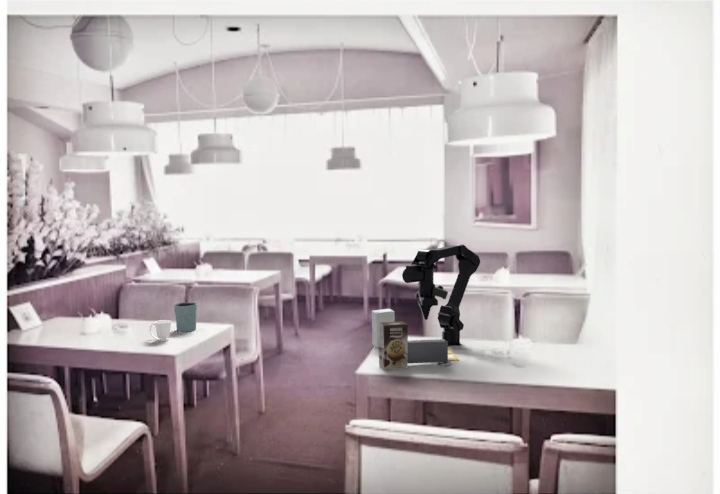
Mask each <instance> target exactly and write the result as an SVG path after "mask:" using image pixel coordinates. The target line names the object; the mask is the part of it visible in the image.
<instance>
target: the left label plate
mask: <svg viewBox="0 0 720 494" xmlns="http://www.w3.org/2000/svg"><path fill="white" fill-rule="evenodd" d="M448 361H450V362H452V361H455V362H457V361H460V359H459V357H458V356H457V354H456V353H453V354H448Z"/></svg>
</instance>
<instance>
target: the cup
mask: <svg viewBox="0 0 720 494" xmlns="http://www.w3.org/2000/svg"><path fill="white" fill-rule="evenodd" d="M153 325H154V326H155V332H156V335H157V336H155V335H154V333H153V332H152V327H153ZM171 326H172V320H169V319H160V320H156V321H155V322H153V323H151V325H150V326H149V329H148V330H149V334H150V336H151V337H152V338H154V339H156V340H158V342H166V341H169V337H170V334H171Z"/></svg>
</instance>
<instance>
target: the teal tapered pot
mask: <svg viewBox="0 0 720 494" xmlns="http://www.w3.org/2000/svg"><path fill="white" fill-rule="evenodd" d="M197 305H198V303H197V302H179V303H175V304H173V307H174V315H175V321H176V323H175V325H176V326H175V327H176V331H177V332H179V333H181V332H182V333H187V332H193V331H196V330H197V309H198V308H197V307H198V306H197Z"/></svg>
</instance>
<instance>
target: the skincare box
mask: <svg viewBox="0 0 720 494" xmlns="http://www.w3.org/2000/svg"><path fill="white" fill-rule="evenodd" d="M395 314H396V311H394V310H393V309H391V308H382V309H376V310H371V333H372V334H371V335H372V336H371V337H372V341H371V343H372V346H373V347H375V348H377V349H379V323H380V322H396V321H395V320H396V319H395V318H396V317H395V316H396V315H395Z"/></svg>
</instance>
